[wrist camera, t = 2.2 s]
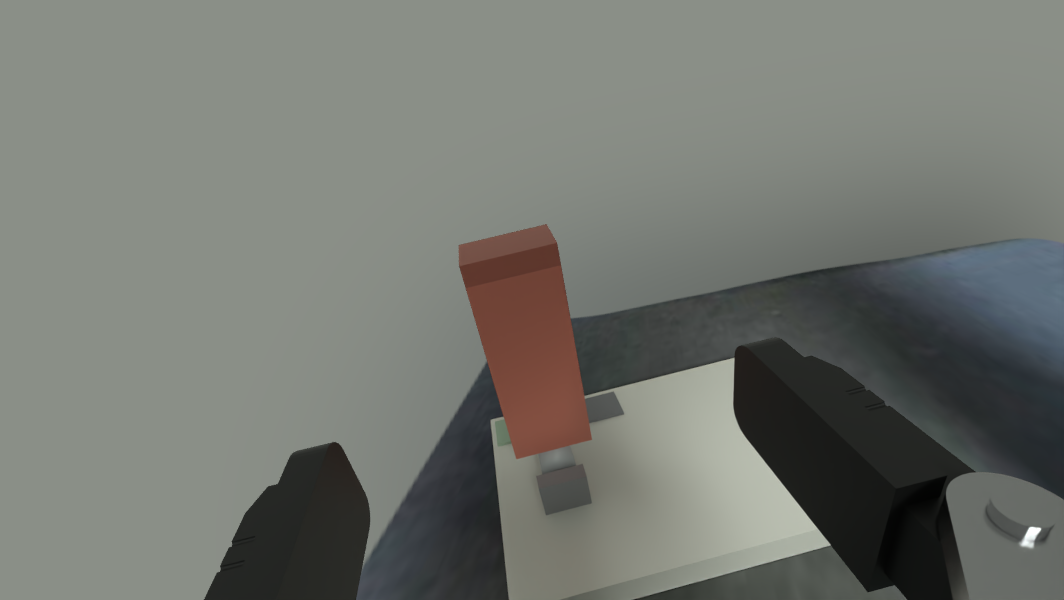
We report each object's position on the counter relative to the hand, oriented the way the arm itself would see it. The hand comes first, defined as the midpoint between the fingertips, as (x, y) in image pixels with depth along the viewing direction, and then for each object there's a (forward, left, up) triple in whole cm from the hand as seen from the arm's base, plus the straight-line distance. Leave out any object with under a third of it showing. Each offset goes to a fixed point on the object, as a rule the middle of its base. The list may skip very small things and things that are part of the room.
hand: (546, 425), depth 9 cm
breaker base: (-7, -10, -15) cm, 19 cm away
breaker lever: (-1, -11, -12) cm, 17 cm away
